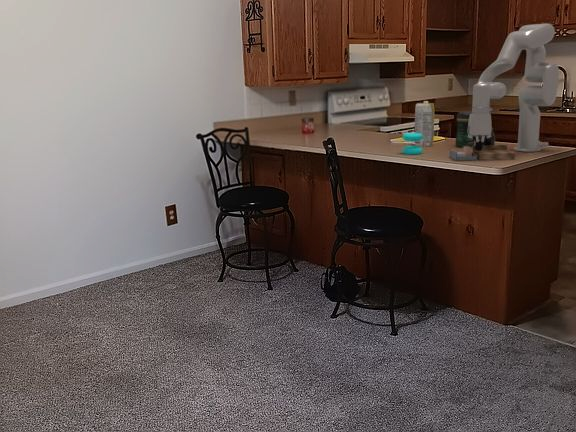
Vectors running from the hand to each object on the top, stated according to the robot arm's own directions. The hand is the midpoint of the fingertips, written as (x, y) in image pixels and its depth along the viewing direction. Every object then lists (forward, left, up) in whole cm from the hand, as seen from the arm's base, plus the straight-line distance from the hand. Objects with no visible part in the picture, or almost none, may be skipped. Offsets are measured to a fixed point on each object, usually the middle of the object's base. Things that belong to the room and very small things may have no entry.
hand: (478, 150), depth 275 cm
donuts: (+27, -21, -4) cm, 35 cm away
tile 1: (+9, 0, -1) cm, 9 cm away
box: (+7, 0, -4) cm, 8 cm away
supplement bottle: (-9, -16, -4) cm, 19 cm away
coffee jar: (-4, -38, -4) cm, 38 cm away
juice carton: (+16, -47, -4) cm, 50 cm away
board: (-7, 0, -4) cm, 8 cm away
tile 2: (+4, 0, -1) cm, 4 cm away
